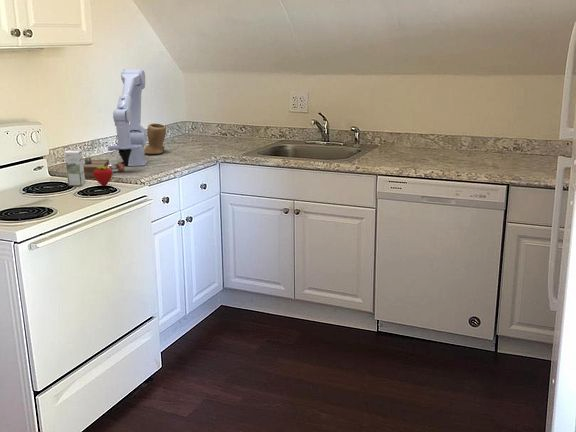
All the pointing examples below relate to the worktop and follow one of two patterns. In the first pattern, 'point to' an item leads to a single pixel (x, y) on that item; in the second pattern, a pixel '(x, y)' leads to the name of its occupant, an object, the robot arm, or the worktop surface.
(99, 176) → the strawberry
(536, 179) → the worktop surface
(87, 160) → the potentiometer
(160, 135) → the brown boot
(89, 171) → the mount
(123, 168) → the inner knob
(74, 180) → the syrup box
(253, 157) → the worktop surface
